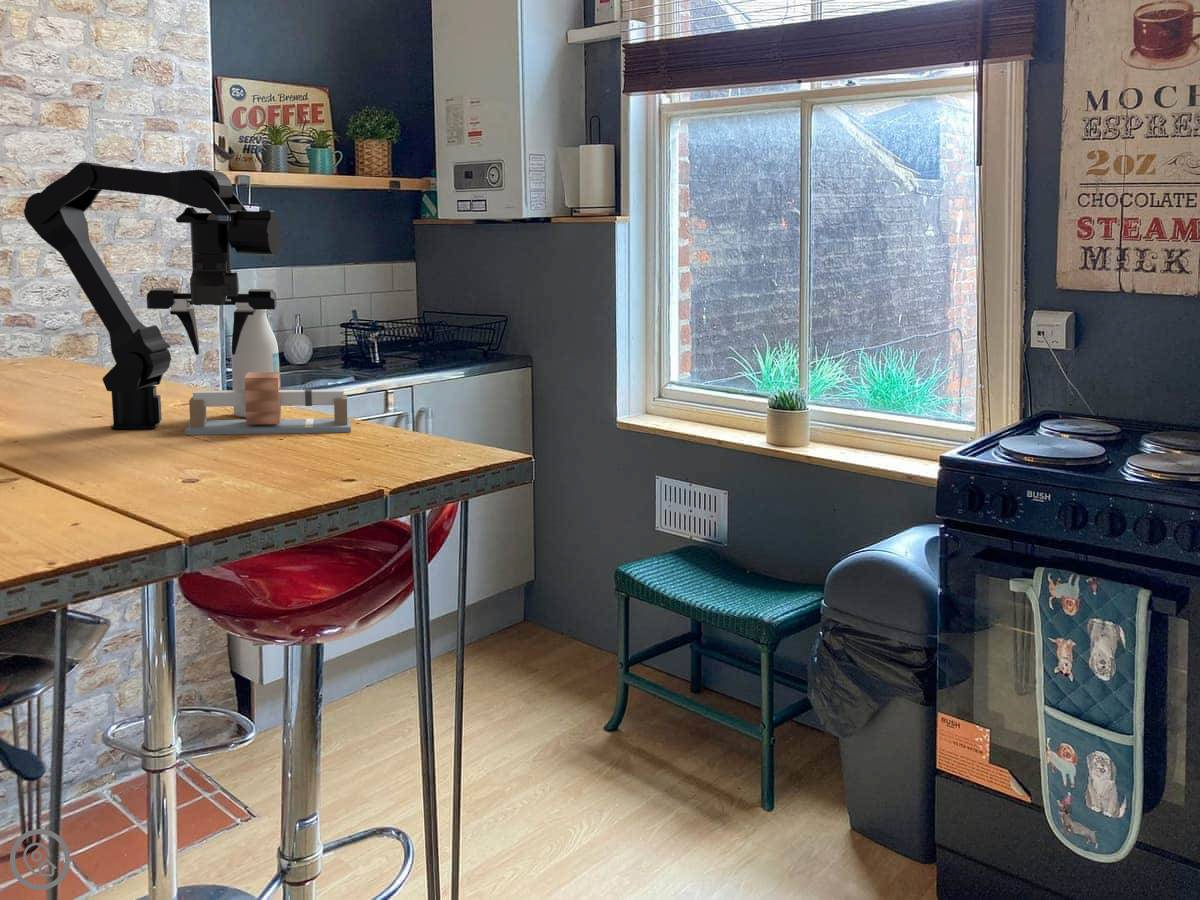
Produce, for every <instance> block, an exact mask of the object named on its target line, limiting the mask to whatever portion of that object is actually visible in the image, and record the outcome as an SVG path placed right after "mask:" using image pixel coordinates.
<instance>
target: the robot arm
mask: <svg viewBox="0 0 1200 900" xmlns="http://www.w3.org/2000/svg"><path fill="white" fill-rule="evenodd" d="M103 190H104V191H111V192H112V191H113V192H121V193H127V194H128V193H131V194H136V195H137V194H139V195H147V196H157V197H163V198H165V199H169V200H172V201H175V202H176V203H180V204H183V205H186V206H188V207H185V209H184V211H183V212H182V213H181V214H179V215H178V216H177V217H176V218H175V221H176V223H178V224H189V225H190V227H189V228H190V229H189V230H190V244H191V246H190V248H191V268H192V272H191V274H190V275H191V276H190V278H189V287H190V288H189V289H190V292H179V288H168V287H166V288H159V287H158V288H157V287H155V288H152V289H150V290H149V291H148V292H147V294H146V305H147V306H146V307H147V310H148V309H150V310H153V309H154V310H169V309H170V311H169V314H170V315H173V316H177V318H178V319H179V320H180V323H181V325H183V327H184V329H185V331H186V333H187V336H188V339H189V341H190V344H191V345H192V348H193V351H194V354H195V356H197V355H200V341H199V333H198V326H197V321H196V313H195V308H193V307H192V305H193V306H217V307H218V306H235V308H236V309H235V310H234V311H233V326H232V336H231V337H232V338H231V339H232V340H231V356H232V355H235V353H236V350H237V346H238V343H239V339H240V336H241V332H242V329H243V326H244V324H245V322H246V320H247V317H248V315H254V314H255V313H256V310H267V311H268V310H276V309H277V307H278V306H277V293H276V292H275V291H274V289H271V288H269V289H268V288H267V289H265V288H264V289H259V288H257V289H256V288H255V289H254V288H250V289H249V290H248V293H239V291H240V290H239V289H240V287H239V286H240V285H239V284H240V283H239V276H238V275H239V274H238V272H232V258H231V257H232V255H231V254H232V252H231V251H232V250H231V249H235V251H236V253H237V254H238V255H251V256H253V255H254V256H257V255H258V256H278V254H279V253H280V251H281V247H282V232H281V229H280V225H279V223H278V220H277V219H276V212H275V210H268V209H266V210H265V209H264V210H258V211H253V210H252V211H251V210H247V209H246V207H245V205H244V204H243V203H242V202H241V200H240V199H239V197H238V196H237V195H236V194H235V192H234V187H233V183H232V182H231V179H230V178H229V177H228V176H227V174H225V173H223V172H221V171H218V170H209V169H207V170H206V169H188V170H177V171H169V172H167V171H165V172H162V171H153V170H147V169H146V170H145V169H135V168H128V167H127V168H126V167H116V166H110V165H109V166H108V165H103V164H101V163H98V162H97V163H95V162H87V161H86V162H79V163H78V164H76V165H75V166H74V167H73V168H72V169H70V170H69V172H68V173H66V174H65V175H63V176H61V177H60V178H58V179H57V180H55V181H53V182H51V183H50V184H48V185H47V186H46V187H45V188H44V189H43V190H41V192H36V193H33V194H31V196H29V197H28V198H27V200H26V202H25V204H24V205H25V206H24V209H23V215H24V218H25V220H26V222H27V223H28V224H29V225H30V227H31V228H32V229H33V230H34V231H35V233H36V234H37V235H38V236H39V237H40V238H41V239H42V240H43V241H44V242H46V243H47V244H48V245H50V247H51V248H53V249H55V250H56V251H57V252H58V253H59V255H61V257H62V259H63V260H64V262H65V263H66V266H68V269H69V270H70V272H71V273H72V275H73V277H74V278H75V280H76V281H77V283H78V284H79V286H80V288H81V290H82V291H83V293H84V295H85V296H86V297H87V300H88V301H89V303H90V304H91V305H92V308H93V309H94V311H95V313H96V314H97V316H98V317H99V319H100V321H101V322H102V324H103V326H104V327H105V329H106V330H107V332H108V336H109V342H110V350H111V354H112V356H113V359H114V362H115V365H114V366H113V367H112V368H111V369H110V370H109V371H108V372H107V373H106V374H105V375H104V376H103V377H102V382H103V384H104V387H105V389H106V391H107V392H111V403H112V404H111V405H112V406H111V407H112V419H113V420H112V422H113V423H112V424H111V425H110V428H111V429H112V430H130V429H131V430H134V429H135V430H137V429H138V430H139V429H140V430H142V429H143V430H144V429H146V430H147V429H155V428H156V427H157V426H159V424H160V423H161V422H162V419H163V417H162V416H163V414H162V401H161V395H160V394H159V395H158V394H157V393H158V392H157V386H159V385H160V384H161V382H162V379H163V376H164V374H165V373H166V372H167V371H168V370H169V368H170V366H171V365H170V364H171V361H172V355H171V352H170V350H169V348H171V344H169V343H168V342H167V341H166V340H165V339H164V337H163V335H162V333H161V331H160V330H161V329H160V328H158V325H157V324H154V325H150V326H146V325H145V324H143V323H142V322H141V321H139V320H138V318H137V317H136V315H135V313H134V311H133V310H132V308H131V306H130V305H129V304H128V301H127V300H126V298H125V297H124V295H123V294H122V291H121V290H120V289H119V287H118V285H117V283H116V282H115V280H114V279H113V277H112V275H111V274H110V272H109V271H108V269H107V268H106V266H105V264H104V262H103V260H102V259H101V258H100V256H99V254H98V253H97V251H96V249H95V248H94V246H93V244H92V242H91V240H90V233H89V232H90V231H89V225H88V221H87V218H86V216H85V214H84V213H85V211H87V210H88V209H89V208H90V207H91V206H92V205H93V203H94V202H95V200H96V199H97V198H98V195H99V194H100V193H101V192H102V191H103ZM195 208H196V209H201V210H203V209H206V210H207V211H209V212H198V211H197V210H196V209H195ZM219 216H226V217H228V216H229V219H228V220H226V219H223V220H222V219H220V218H219ZM111 429H110V430H111Z"/></svg>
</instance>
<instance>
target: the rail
mask: <svg viewBox="0 0 1200 900" xmlns="http://www.w3.org/2000/svg"><path fill="white" fill-rule="evenodd" d="M188 402H189V404H188V405H189V407H188V408H189V424H188V425H187V427H186V428H185V431H184V432H185V435H186V436H187V435H188V436H191V435H192V436H195V435H201V436H202V435H203V436H204V435H205V436H206V435H246V434H247V435H250V434H251V435H253V434H254V435H256V434H262V435H263V434H309V433H311V434H312V433H313V434H314V433H315V434H319V433H323V434H324V433H351V430H352V429H351V427H352V426H351V425H352V424H351V418H350V417H348V395H346V394H345V395H344V389H313V388H308V389H307V388H305V389H280V390H279V406H281V407H285V406H286V407H289V406H292V407H293V406H295V407H296V406H297V407H298V406H304V407H312V406H333V407H334V410H333V411H334V412H333V413H334V415H333V416H334V417H332V418H314V417H311V418H310V417H309V418H287V419H286V418H285V419H284V418H281V420H280V424H247V425H246V419H208V418H207V407H209V408H211V407H212V408H214V407H233V406H246V401H245V390H233V389H232V390H231V389H229V390H194V391H192V397H191V398H190V399H189V400H188ZM207 419H208V420H207Z"/></svg>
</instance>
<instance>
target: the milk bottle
mask: <svg viewBox="0 0 1200 900" xmlns="http://www.w3.org/2000/svg"><path fill="white" fill-rule="evenodd" d="M267 311H268V310H256V313H255V314H254V315H248V317H247V320H246V322H245V324H244V326H243V329H242V332H241V336H240V339H239V343H238V346H237V350H236V353H235V355H232V354H231V378H232V379H231V380H232V382H231V383H232V390H245V376H246V375H247V373H248V372H280V357H279V347H278V341H277V338H276V336H275V333H274V332H273V330H272V329H273V328H272V327H271V325H270V323H269V320H268V316H267ZM232 407H233V413H234V416H236V417H240V418H246V406H232Z"/></svg>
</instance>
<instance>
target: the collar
mask: <svg viewBox="0 0 1200 900" xmlns="http://www.w3.org/2000/svg"><path fill="white" fill-rule="evenodd" d="M279 390H281V372H280V371H279V372H248V373H247V375H246V376H245V401H246V417H245V420H246V425H247V424H280V420H281V419H282V406H279Z"/></svg>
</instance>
